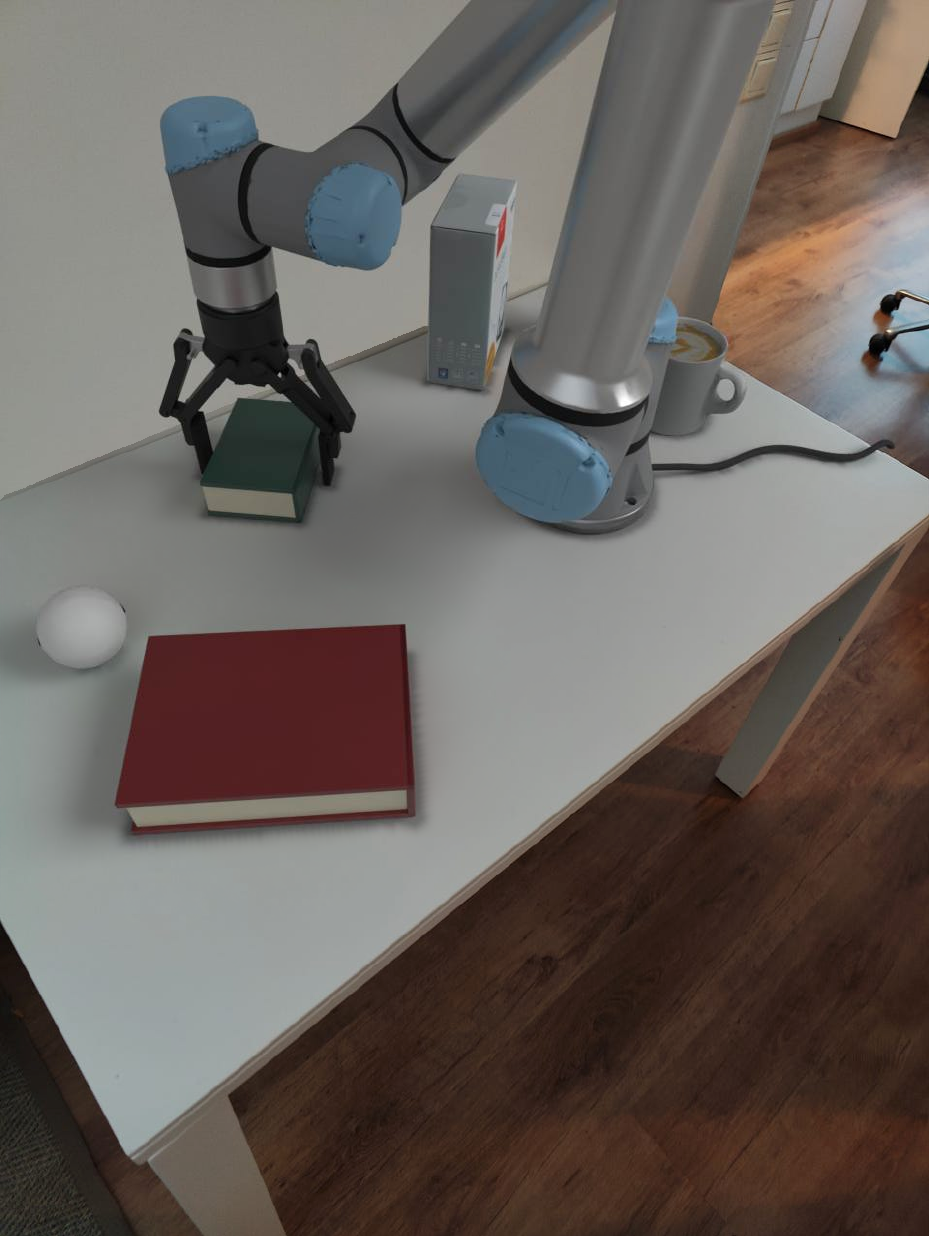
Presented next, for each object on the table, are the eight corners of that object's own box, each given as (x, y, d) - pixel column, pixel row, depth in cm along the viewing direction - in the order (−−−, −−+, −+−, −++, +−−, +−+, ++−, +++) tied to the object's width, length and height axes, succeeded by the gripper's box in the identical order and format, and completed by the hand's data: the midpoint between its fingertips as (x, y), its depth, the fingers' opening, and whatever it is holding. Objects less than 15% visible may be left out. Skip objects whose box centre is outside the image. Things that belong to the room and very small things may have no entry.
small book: (328, 436, 97) (324, 404, 93) (301, 523, 87) (295, 490, 84) (244, 429, 97) (237, 397, 94) (208, 515, 87) (199, 482, 84)
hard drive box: (485, 393, 104) (495, 234, 89) (426, 384, 105) (426, 225, 89) (505, 329, 114) (518, 177, 98) (451, 322, 114) (455, 170, 99)
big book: (406, 658, 76) (405, 623, 72) (415, 816, 66) (415, 785, 62) (162, 670, 74) (148, 635, 70) (132, 835, 64) (114, 805, 60)
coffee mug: (610, 411, 102) (625, 338, 94) (654, 379, 107) (671, 307, 100) (703, 459, 97) (727, 385, 89) (744, 422, 102) (770, 350, 94)
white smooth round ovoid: (155, 646, 76) (133, 592, 70) (88, 699, 72) (59, 646, 66) (84, 597, 79) (58, 542, 74) (17, 645, 75) (-16, 591, 70)
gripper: (377, 284, 78) (384, 460, 94) (118, 262, 79) (169, 441, 95) (364, 326, 73) (374, 504, 89) (88, 302, 74) (147, 483, 90)
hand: (268, 472), depth 92 cm, fingers open, 13 cm apart
